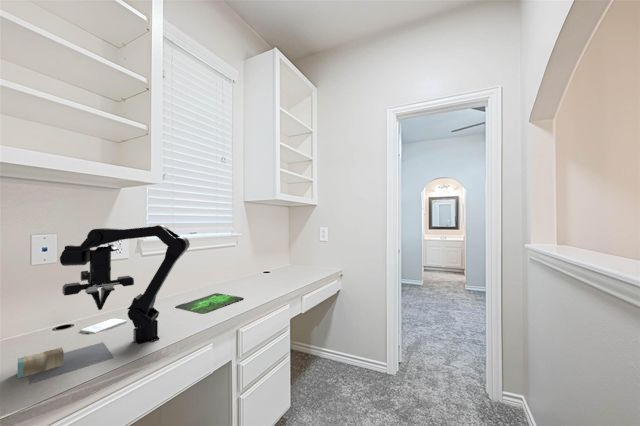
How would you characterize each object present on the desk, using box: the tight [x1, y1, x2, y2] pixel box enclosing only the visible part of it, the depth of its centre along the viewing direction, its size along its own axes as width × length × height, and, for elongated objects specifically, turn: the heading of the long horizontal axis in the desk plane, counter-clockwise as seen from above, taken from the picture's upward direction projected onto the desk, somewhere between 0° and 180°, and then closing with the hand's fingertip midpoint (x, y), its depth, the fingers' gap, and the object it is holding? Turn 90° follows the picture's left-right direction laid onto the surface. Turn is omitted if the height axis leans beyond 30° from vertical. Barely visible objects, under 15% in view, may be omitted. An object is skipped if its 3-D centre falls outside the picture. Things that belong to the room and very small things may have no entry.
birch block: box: [16, 347, 65, 379], centre depth 78 cm, size 4×4×9 cm
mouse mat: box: [174, 292, 244, 315], centre depth 141 cm, size 27×22×1 cm
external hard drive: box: [79, 318, 128, 335], centre depth 109 cm, size 2×8×12 cm
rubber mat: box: [28, 342, 115, 385], centre depth 83 cm, size 18×16×1 cm
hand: (99, 309), depth 94 cm, fingers closed
